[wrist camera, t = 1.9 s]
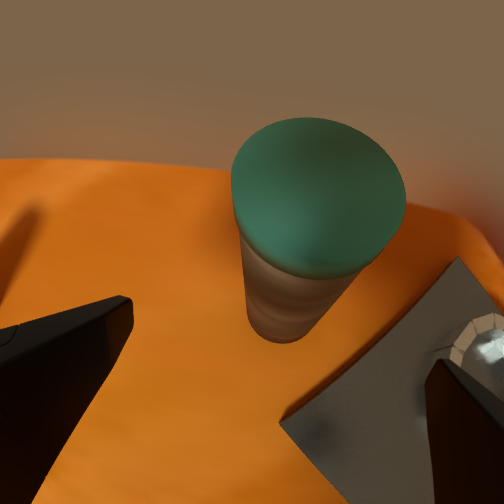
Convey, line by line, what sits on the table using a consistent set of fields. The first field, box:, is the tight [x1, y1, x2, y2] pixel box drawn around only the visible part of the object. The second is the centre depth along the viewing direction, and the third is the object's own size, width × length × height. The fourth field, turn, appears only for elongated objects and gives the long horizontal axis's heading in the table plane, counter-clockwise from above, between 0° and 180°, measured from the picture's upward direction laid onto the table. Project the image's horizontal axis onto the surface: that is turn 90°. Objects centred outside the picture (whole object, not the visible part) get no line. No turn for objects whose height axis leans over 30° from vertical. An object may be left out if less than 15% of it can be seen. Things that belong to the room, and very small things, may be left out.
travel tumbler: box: [231, 118, 406, 344], centre depth 14 cm, size 5×5×13 cm
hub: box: [279, 257, 504, 504], centre depth 15 cm, size 15×17×3 cm
